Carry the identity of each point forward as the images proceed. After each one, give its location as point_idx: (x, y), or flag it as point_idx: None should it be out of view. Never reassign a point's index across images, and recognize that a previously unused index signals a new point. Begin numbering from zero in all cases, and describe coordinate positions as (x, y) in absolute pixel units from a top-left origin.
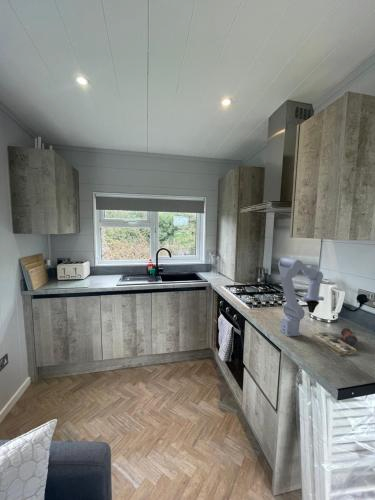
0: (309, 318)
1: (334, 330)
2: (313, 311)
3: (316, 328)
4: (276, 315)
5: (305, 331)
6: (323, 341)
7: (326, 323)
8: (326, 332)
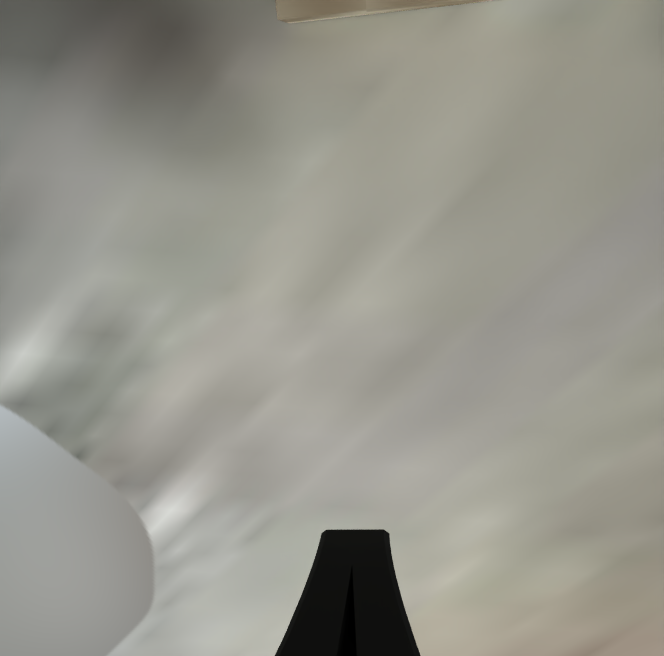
0: (179, 528)
1: (6, 197)
2: (329, 561)
3: (278, 289)
4: (565, 627)
5: (563, 216)
6: None
7: (17, 400)
8: (288, 4)
